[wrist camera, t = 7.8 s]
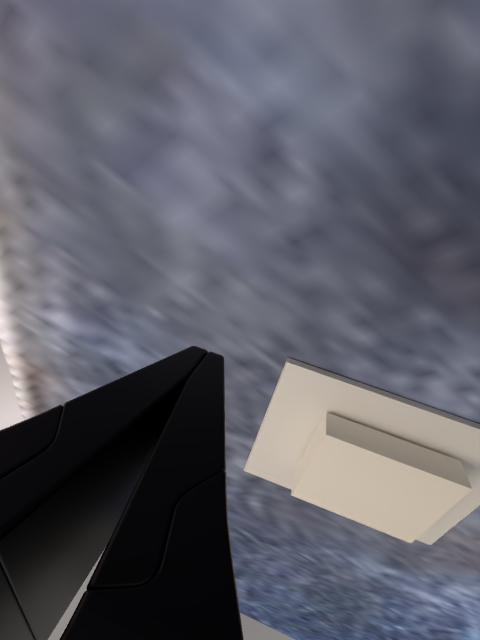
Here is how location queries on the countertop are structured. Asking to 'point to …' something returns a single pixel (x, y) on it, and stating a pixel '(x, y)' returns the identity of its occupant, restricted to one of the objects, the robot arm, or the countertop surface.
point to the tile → (377, 478)
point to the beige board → (365, 409)
